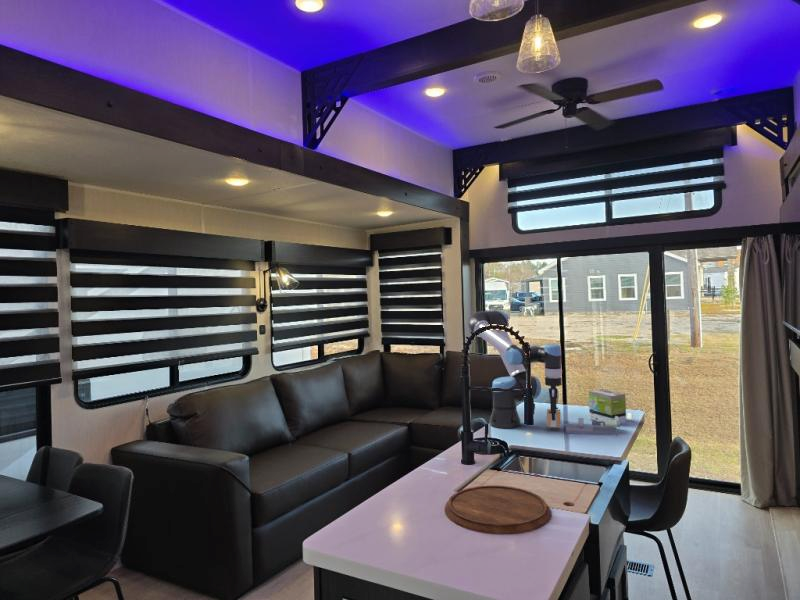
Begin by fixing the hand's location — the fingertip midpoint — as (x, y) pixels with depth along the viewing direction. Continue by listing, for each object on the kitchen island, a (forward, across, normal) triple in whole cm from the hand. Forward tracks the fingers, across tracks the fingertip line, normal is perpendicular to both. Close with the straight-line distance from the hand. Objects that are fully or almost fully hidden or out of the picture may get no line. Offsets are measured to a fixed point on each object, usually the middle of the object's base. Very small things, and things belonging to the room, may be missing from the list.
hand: (553, 424), depth 250 cm
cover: (-2, 0, -26) cm, 26 cm away
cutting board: (+1, -100, +14) cm, 101 cm away
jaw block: (0, 0, 0) cm, 0 cm away
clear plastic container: (+2, 0, -17) cm, 17 cm away
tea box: (+2, +20, -26) cm, 33 cm away
